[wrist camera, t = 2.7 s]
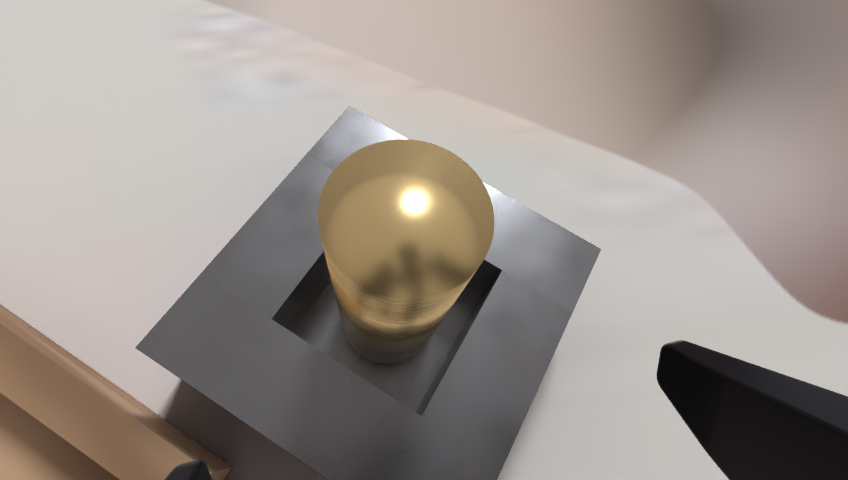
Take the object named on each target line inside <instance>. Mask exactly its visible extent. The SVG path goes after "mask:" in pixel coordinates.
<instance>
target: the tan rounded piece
mask: <svg viewBox="0 0 848 480" xmlns="http://www.w3.org/2000/svg"><path fill="white" fill-rule="evenodd" d="M317 218H318V228H319V232H320V237H321V241H322V245H323V249H324V253H325V257H326V261H327V265H328V269H329V273H330V277H331V281H332V285H333V289H334V294H335V298H336V302H337V306H338V310H339V314H340V318H341V322H342V326H343V330H344V333H345V336H346V338H347V340H348V342H349V343H350V345H351V346H352V347H353V348H354V349H355V350H356V351H357V352H358V353H359V354H360V355H362V356H363V357H365V358H367V359H369V360H372V361H374V362H378V363H386V364H388V363H398V362H401V361H405V360H407V359H409V358H411V357H413V356H414V355H416V354H417V353H418V352H419V351H420V350H421V349H422V348H423V347H424V346H425V345H426V343H427V342H428V340H429V339H430V338H431V336H432V335H433V333H434V332H435V330H436V329H437V327H438V326H439V324H440V323H441V322H442V320H443V319H444V317H445V316H446V314H447V313H448V311H449V310H450V308H451V307H452V306H453V304H454V303H455V301H456V300H457V298H458V297H459V295H460V294H461V292H462V291H463V290H464V288H465V287H466V285H467V284H468V282H469V281H470V279H471V278H472V277H473V275H474V274H475V272H476V271H477V269H478V268H479V266H480V265H481V263H482V262H483V260H484V259H485V257H486V255H487V253H488V251H489V249H490V246H491V243H492V239H493V234H494V211H493V206H492V202H491V198H490V196H489V194H488V191H487V189H486V187H485V185H484V184H483V182H482V180H481V179H480V178H479V176H478V175H477V174H476V172H475V171H474V170H473V169H472V168H471V167H470V166H469V165H468V164H467V163H466V162H464V161H463V160H462V159H461V158H459V157H458V156H456V155H455V154H453V153H452V152H450V151H448V150H446V149H444V148H442V147H439V146H437V145H434V144H431V143H427V142H423V141H418V140H410V139H396V140H387V141H382V142H377V143H374V144H371V145H368V146H366V147H364V148H362V149H359V150H358V151H356V152H354V153H353V154H351V155H350V156H348V157H347V158H346V159H345V160H343V161H342V162H341V163H340V164H339V165H338V166H337V167H336V168H335V169H334V171H333V172H332V173H331V175H330V176H329V178H328V179H327V181H326V183H325V185H324V187H323V190H322V193H321V195H320V199H319V204H318V217H317Z"/></svg>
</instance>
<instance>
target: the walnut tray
mask: <svg viewBox="0 0 848 480" xmlns="http://www.w3.org/2000/svg"><path fill="white" fill-rule="evenodd" d="M194 460H203V461H204V462H205V463H206V465H207V467H208V470H209V472H210V475H211V477H212V480H224V479H225V477H226V476H227V474H228V473H229V472H230V470H231V469H232V466H230V465H229V464H227V463H226V462H224V461H223V460H222V459H220V458H219V457H217V456H216V455H215V454H213V453H212V452H210V451H209V450H207V449H206V448H205V447H203V446H202V445H200V444H199V443H197V442H196V441H195V440H193V439H192V438H190V437H189V436H187V435H186V434H185V433H183V432H182V431H180V430H179V429H177V428H176V427H175V426H173V425H172V424H170V423H169V422H167V421H166V420H165V419H163V418H162V417H160V416H159V415H157V414H156V413H155V412H153V411H152V410H150V409H149V408H147V407H146V406H145V405H143V404H142V403H140V402H139V401H137V400H136V399H135V398H133V397H132V396H130V395H129V394H127V393H126V392H125V391H123V390H122V389H120V388H119V387H117V386H116V385H115V384H113V383H112V382H110V381H109V380H107V379H106V378H105V377H103V376H102V375H100V374H99V373H97V372H96V371H95V370H93V369H92V368H90V367H89V366H87V365H86V364H85V363H83V362H82V361H80V360H79V359H77V358H76V357H75V356H73V355H72V354H70V353H69V352H67V351H66V350H65V349H63V348H62V347H60V346H59V345H57V344H56V343H55V342H53V341H52V340H50V339H49V338H47V337H46V336H45V335H43V334H42V333H40V332H39V331H37V330H36V329H35V328H33V327H32V326H30V325H29V324H27V323H26V322H25V321H23V320H22V319H20V318H19V317H17V316H16V315H15V314H13V313H12V312H10V311H9V310H7V309H6V308H5V307H3V306H2V305H0V480H164V479H165V478H166V477H167V476H168V475H169V473H170V472H171V471H172V470H173V469H174V468H175V467H176V466H177V465H179V464H182V463H186V462H190V461H194Z"/></svg>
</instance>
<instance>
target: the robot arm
mask: <svg viewBox="0 0 848 480" xmlns="http://www.w3.org/2000/svg"><path fill="white" fill-rule="evenodd" d="M657 380H658V383H659V385H660V387H661V389H662V390H663V392H664V393H665V395H666V396H667V397H668V399H669V400H670V402H671V403H672V404H673V406H674V407H675V409H676V410H677V411H678V413H679V414H680V416H681V417H682V419H683V420H684V421H685V423H686V424H687V426H688V427H689V428H690V430H691V431H692V433H693V434H694V436H695V437H696V438H697V440H698V441H699V443H700V444H701V445H702V447H703V448H704V449H705V451H706V452H707V453H708V455H709V456H710V457H711V458H712V460H713V461H714V462H715V463H716V464H717V466H718V467H719V468H720V469H721V470H722V472H723V473H724V474H725V475H726V476H727V478H728V479H729V480H848V397H847V396H845V395H842V394H839V393H836V392H833V391H830V390H827V389H824V388H821V387H818V386H815V385H812V384H809V383H807V382H804V381H801V380H798V379H795V378H792V377H789V376H786V375H783V374H780V373H777V372H774V371H772V370H769V369H766V368H763V367H760V366H757V365H754V364H751V363H748V362H745V361H742V360H739V359H736V358H734V357H731V356H728V355H725V354H722V353H719V352H716V351H713V350H710V349H707V348H704V347H701V346H699V345H696V344H693V343H690V342H687V341H682V340H680V341H675V342H671V343H667V344H665V345H663V347H662V348H661V352H660V357H659V363H658V369H657ZM164 480H212V477H211V475H210V472H209V470H208V467H207V465H206V463H205V462H204V461H203V460H194V461H190V462H186V463H182V464H179V465H177V466H176V467H175V468H174V469H173V470H172V471H171V472H170V473H169V475H168V476H167V477H166V478H165V479H164Z"/></svg>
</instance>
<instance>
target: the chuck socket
mask: <svg viewBox="0 0 848 480" xmlns="http://www.w3.org/2000/svg"><path fill="white" fill-rule="evenodd" d="M396 139H407V138H405V137H403V136H402V135H400V134H398V133H396V132H395V131H393V130H391V129H389V128H387V127H386V126H384V125H382V124H380V123H379V122H377V121H375V120H373V119H372V118H370V117H368V116H366V115H365V114H363V113H361V112H359V111H358V110H356V109H354V108H352V107H351V106H349V107H348V108H347V109H346V110H345V111H344V112H343V114H342V115H341V116H340V117H339V118H338V119H337V120H336V121H335V123H334V124H333V125H332V126H331V127H330V128H329V129H328V130H327V132H326V133H325V134H324V135H323V136H322V137H321V138H320V140H319V141H318V142H317V143H316V144H315V145H314V146H313V147H312V149H311V150H310V151H309V152H308V153H307V154H306V155H305V156H304V158H303V159H302V160H301V161H300V162H299V163H298V164H297V166H296V167H295V168H294V169H293V170H292V171H291V172H290V173H289V175H288V176H287V177H286V178H285V179H284V180H283V181H282V182H281V184H280V185H279V186H278V187H277V188H276V189H275V190H274V192H273V193H272V194H271V195H270V196H269V197H268V198H267V199H266V201H265V202H264V203H263V204H262V205H261V206H260V207H259V209H258V210H257V211H256V212H255V213H254V214H253V215H252V216H251V218H250V219H249V220H248V221H247V222H246V223H245V224H244V225H243V227H242V228H241V229H240V230H239V231H238V232H237V233H236V235H235V236H234V237H233V238H232V239H231V240H230V241H229V242H228V244H227V245H226V246H225V247H224V248H223V249H222V250H221V251H220V253H219V254H218V255H217V256H216V257H215V258H214V259H213V261H212V262H211V263H210V264H209V265H208V266H207V267H206V268H205V270H204V271H203V272H202V273H201V274H200V275H199V276H198V277H197V279H196V280H195V281H194V282H193V283H192V284H191V285H190V287H189V288H188V289H187V290H186V291H185V292H184V293H183V294H182V296H181V297H180V298H179V299H178V300H177V301H176V302H175V304H174V305H173V306H172V307H171V308H170V309H169V310H168V311H167V313H166V314H165V315H164V316H163V317H162V318H161V319H160V320H159V322H158V323H157V324H156V325H155V326H154V327H153V328H152V330H151V331H150V332H149V333H148V334H147V335H146V336H145V337H144V339H143V340H142V341H141V342H140V343H139V344H138V345H137V346H136V349H138V350H139V351H141V352H142V353H144V354H145V355H147V356H148V357H150V358H151V359H152V360H154V361H155V362H157V363H158V364H160V365H161V366H163V367H164V368H166V369H167V370H169V371H170V372H171V373H173V374H174V375H176V376H177V377H179V378H180V379H182V380H183V381H185V382H186V383H188V384H189V385H190V386H192V387H193V388H195V389H196V390H198V391H199V392H201V393H202V394H204V395H205V396H207V397H208V398H209V399H211V400H212V401H214V402H215V403H217V404H218V405H220V406H221V407H223V408H224V409H226V410H227V411H228V412H230V413H231V414H233V415H234V416H236V417H237V418H239V419H240V420H242V421H243V422H245V423H246V424H247V425H249V426H250V427H252V428H253V429H255V430H256V431H258V432H259V433H261V434H262V435H264V436H265V437H266V438H268V439H269V440H271V441H272V442H274V443H275V444H277V445H278V446H280V447H281V448H283V449H284V450H285V451H287V452H288V453H290V454H291V455H293V456H294V457H296V458H297V459H299V460H300V461H302V462H303V463H304V464H306V465H307V466H309V467H310V468H312V469H313V470H315V471H316V472H318V473H319V474H321V475H322V476H323V477H325V478H326V479H328V480H497V478H498V476H499V473H500V471H501V469H502V467H503V465H504V462H505V460H506V458H507V456H508V454H509V451H510V449H511V447H512V445H513V443H514V440H515V438H516V436H517V434H518V432H519V429H520V427H521V425H522V423H523V420H524V418H525V416H526V414H527V412H528V409H529V407H530V405H531V403H532V401H533V398H534V396H535V394H536V392H537V390H538V387H539V385H540V383H541V381H542V379H543V376H544V374H545V372H546V370H547V368H548V365H549V363H550V361H551V359H552V356H553V354H554V352H555V350H556V348H557V345H558V343H559V341H560V339H561V337H562V334H563V332H564V330H565V328H566V326H567V323H568V321H569V319H570V317H571V315H572V312H573V310H574V308H575V306H576V303H577V301H578V299H579V297H580V295H581V292H582V290H583V288H584V286H585V284H586V281H587V279H588V277H589V275H590V273H591V270H592V268H593V266H594V264H595V262H596V259H597V257H598V255H599V253H600V250H601V249H600V248H598V247H596V246H594V245H593V244H591V243H589V242H587V241H586V240H584V239H582V238H580V237H579V236H577V235H575V234H573V233H572V232H570V231H568V230H566V229H565V228H563V227H561V226H559V225H558V224H556V223H554V222H552V221H551V220H549V219H547V218H545V217H544V216H542V215H540V214H538V213H537V212H535V211H533V210H531V209H530V208H528V207H526V206H524V205H522V204H521V203H519V202H517V201H515V200H514V199H512V198H510V197H508V196H507V195H505V194H503V193H501V192H500V191H498V190H496V189H494V188H493V187H491V186H489V185H487V184H486V183H484V182H483V184H484V185H485V187H486V189H487V191H488V194H489V196H490V198H491V202H492V206H493V211H494V234H493V239H492V243H491V246H490V249H489V251H488V253H487V255H486V257H485V259H484V260H483V262H482V263H481V265H480V266H479V268H478V269H477V271H476V272H475V274H474V275H473V277H472V278H471V279H470V281H469V282H468V284H467V285H466V287H465V288H464V290H463V291H462V292H461V294H460V295H459V297H458V298H457V300H456V301H455V303H454V304H453V306H452V307H451V308H450V310H449V311H448V313H447V314H446V316H445V317H444V319H443V320H442V322H441V323H440V324H439V326H438V327H437V329H436V330H435V332H434V333H433V335H432V336H431V338H430V339H429V340H428V342H427V343H426V345H425V346H424V347H423V348H422V349H421V350H420V351H419V352H418V353H417V354H416V355H414V356H413V357H411V358H409V359H407V360H405V361H401V362H398V363H388V364H386V363H378V362H374V361H372V360H369V359H367V358H365V357H363V356H362V355H360V354H359V353H358V352H357V351H356V350H355V349H354V348H353V347H352V346H351V345H350V343H349V342H348V340H347V338H346V336H345V333H344V330H343V326H342V322H341V318H340V314H339V310H338V306H337V302H336V298H335V294H334V289H333V285H332V281H331V277H330V273H329V269H328V265H327V261H326V257H325V253H324V249H323V245H322V241H321V237H320V232H319V228H318V218H317V217H318V204H319V199H320V195H321V193H322V190H323V187H324V185H325V183H326V181H327V179H328V178H329V176H330V175H331V173H332V172H333V171H334V169H335V168H336V167H337V166H338V165H339V164H340V163H341V162H342V161H343V160H345V159H346V158H347V157H348V156H350V155H351V154H353V153H354V152H356V151H358V150H359V149H362V148H364V147H366V146H368V145H371V144H374V143H377V142H382V141H387V140H396Z"/></svg>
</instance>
